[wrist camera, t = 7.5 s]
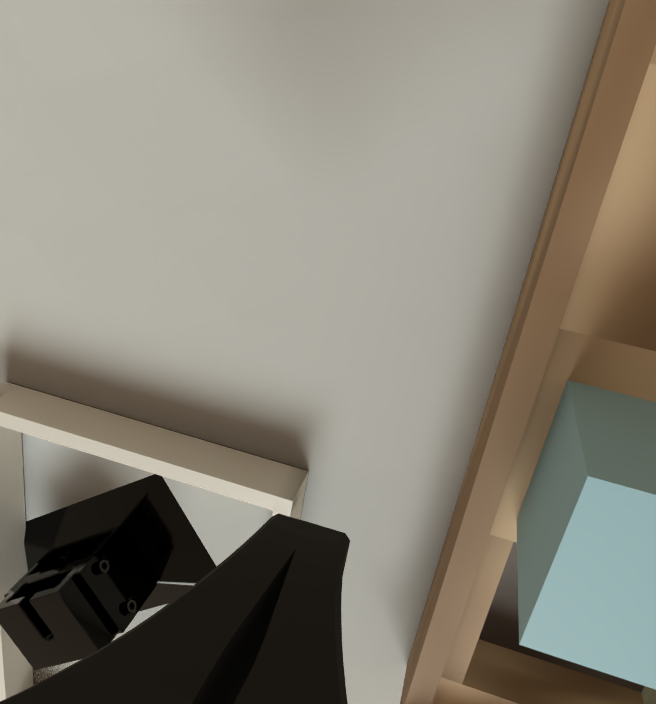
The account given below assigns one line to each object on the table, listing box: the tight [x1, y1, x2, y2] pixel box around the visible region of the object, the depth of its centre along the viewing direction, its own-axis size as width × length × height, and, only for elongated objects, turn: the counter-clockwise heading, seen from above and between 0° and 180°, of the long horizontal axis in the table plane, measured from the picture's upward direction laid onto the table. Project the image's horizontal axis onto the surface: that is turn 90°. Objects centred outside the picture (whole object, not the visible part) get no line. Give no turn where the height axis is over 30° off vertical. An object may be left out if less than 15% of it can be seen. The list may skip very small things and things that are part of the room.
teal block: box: [516, 380, 656, 690], centre depth 14 cm, size 4×4×4 cm
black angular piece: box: [0, 474, 216, 670], centre depth 25 cm, size 12×7×5 cm, turn 118°
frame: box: [0, 382, 309, 701], centre depth 26 cm, size 12×17×2 cm
